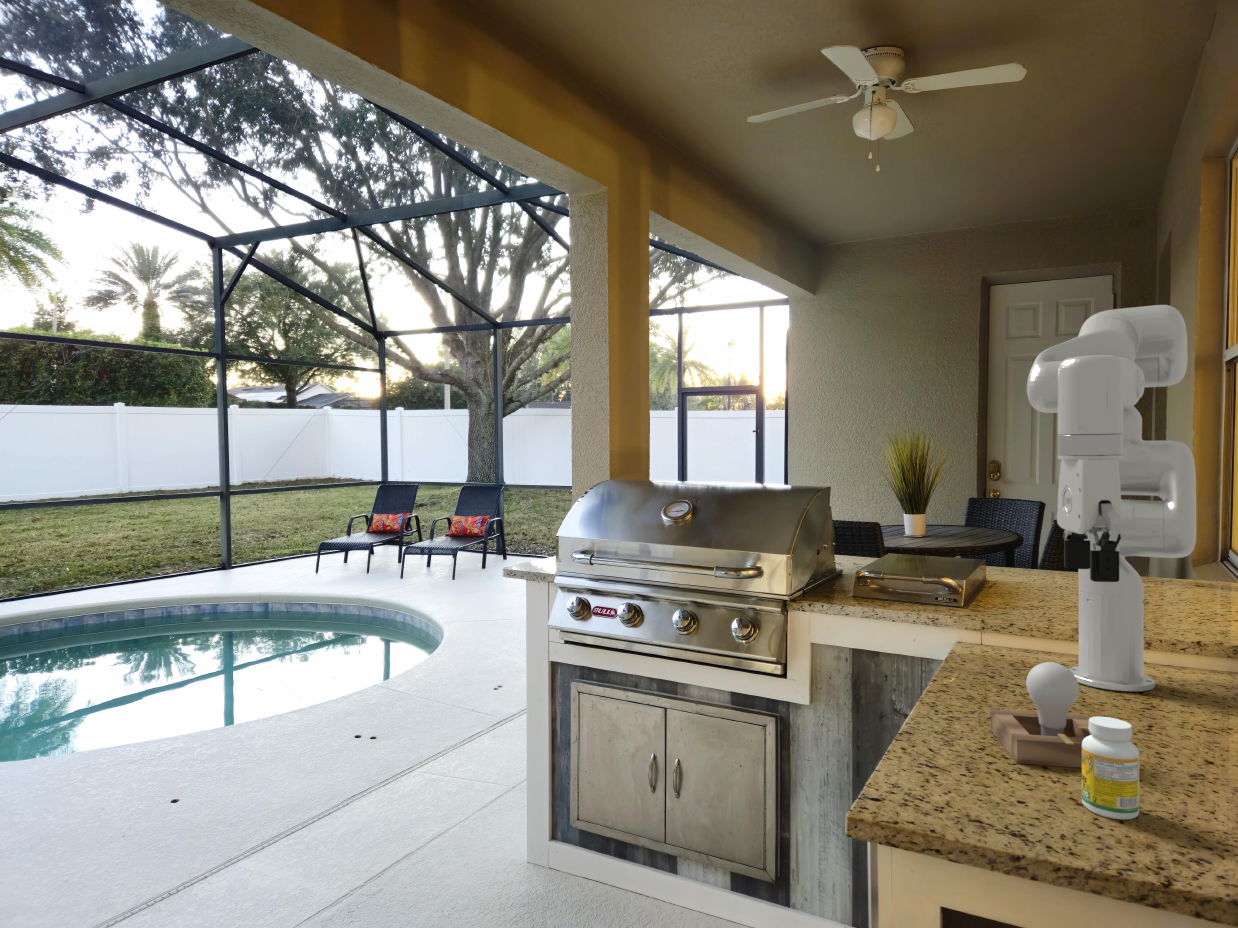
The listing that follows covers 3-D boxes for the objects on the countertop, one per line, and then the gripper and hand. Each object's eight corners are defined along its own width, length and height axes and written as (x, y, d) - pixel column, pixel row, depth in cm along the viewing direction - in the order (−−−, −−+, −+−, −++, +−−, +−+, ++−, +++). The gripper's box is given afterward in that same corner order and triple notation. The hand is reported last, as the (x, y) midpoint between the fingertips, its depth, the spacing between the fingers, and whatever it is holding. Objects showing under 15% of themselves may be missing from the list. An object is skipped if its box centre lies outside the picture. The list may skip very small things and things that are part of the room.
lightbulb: (1035, 752, 99) (1035, 667, 99) (1019, 736, 106) (1019, 656, 105) (1087, 755, 98) (1087, 670, 98) (1068, 738, 104) (1068, 657, 104)
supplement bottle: (1135, 825, 81) (1136, 734, 81) (1077, 810, 84) (1077, 723, 84) (1142, 807, 85) (1142, 721, 85) (1086, 794, 88) (1086, 710, 88)
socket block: (990, 730, 109) (990, 708, 109) (1087, 736, 107) (1087, 713, 107) (1018, 764, 97) (1018, 739, 97) (1128, 772, 94) (1128, 746, 94)
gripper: (1039, 447, 113) (1039, 563, 113) (1082, 450, 96) (1083, 586, 96) (1096, 446, 111) (1096, 564, 112) (1150, 448, 94) (1150, 587, 95)
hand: (1090, 574), depth 104 cm, fingers open, 9 cm apart
